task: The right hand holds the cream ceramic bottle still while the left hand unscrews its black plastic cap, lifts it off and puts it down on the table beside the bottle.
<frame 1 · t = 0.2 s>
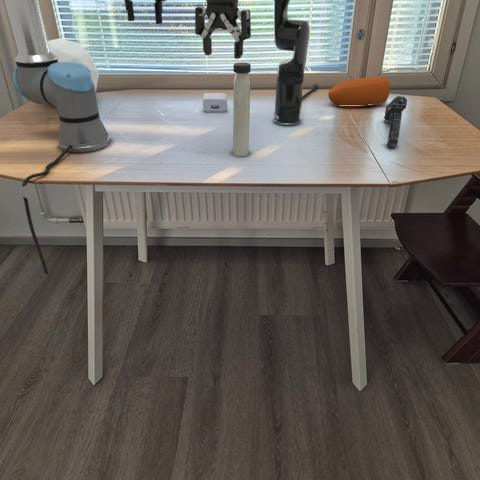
left hand: (145, 22, 153), 29 cm above the table, tool pointing down, fingers open, 13 cm apart
right hand: (222, 56, 100), 29 cm above the table, tool pointing down, fingers open, 8 cm apart
charger: (215, 106, 164), on the table
decorative sphere: (72, 104, 164), on the table
cap: (242, 65, 110), point 25 cm above the table, screwed on, not yet turned
futuristic handgun: (389, 134, 140), on the table
bottle: (240, 153, 125), on the table
clog: (356, 105, 168), on the table
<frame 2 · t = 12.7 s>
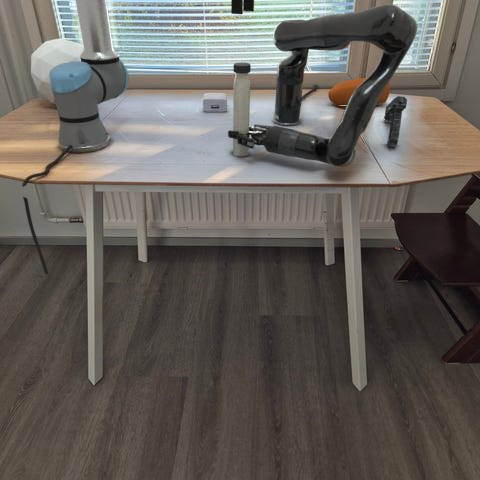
left hand: (242, 12, 103), 38 cm above the table, tool pointing down, fingers open, 7 cm apart
right hand: (233, 130, 122), 7 cm above the table, tool horizontal, fingers closed on bottle, 4 cm apart
bottle: (240, 153, 125), on the table, touching right hand
everything else where it was.
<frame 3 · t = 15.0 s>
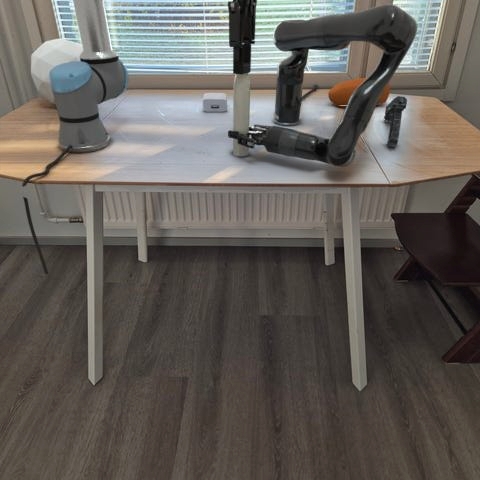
left hand: (242, 71, 111), 24 cm above the table, tool pointing down, fingers closed on cap, 4 cm apart
right hand: (233, 130, 122), 7 cm above the table, tool horizontal, fingers closed on bottle, 4 cm apart
cap: (242, 65, 110), point 25 cm above the table, screwed on, not yet turned, touching left hand
bottle: (240, 153, 125), on the table, touching right hand
everything else where it was.
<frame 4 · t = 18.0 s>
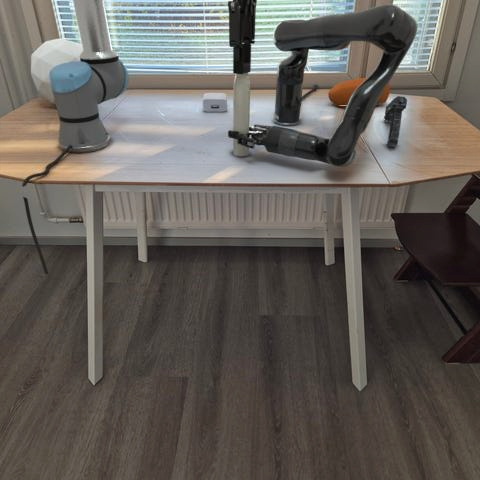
left hand: (242, 71, 111), 24 cm above the table, tool pointing down, fingers closed on cap, 4 cm apart
right hand: (233, 130, 122), 7 cm above the table, tool horizontal, fingers closed on bottle, 4 cm apart
cap: (242, 65, 110), point 25 cm above the table, turned 89° so far, risen 0.1 cm, still on its thread, touching left hand
bottle: (240, 153, 125), on the table, touching right hand
everything else where it was.
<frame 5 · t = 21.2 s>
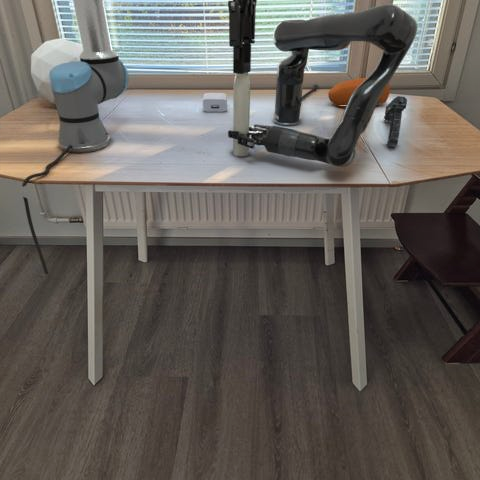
left hand: (242, 71, 111), 24 cm above the table, tool pointing down, fingers closed on cap, 4 cm apart
right hand: (233, 130, 122), 7 cm above the table, tool horizontal, fingers closed on bottle, 4 cm apart
cap: (242, 64, 110), point 26 cm above the table, turned 178° so far, risen 0.1 cm, still on its thread, touching left hand
bottle: (240, 153, 125), on the table, touching right hand
everything else where it was.
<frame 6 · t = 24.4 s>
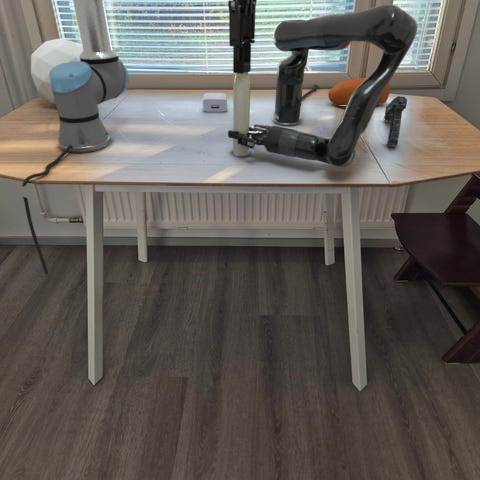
left hand: (242, 70, 111), 24 cm above the table, tool pointing down, fingers closed on cap, 4 cm apart
right hand: (233, 130, 122), 7 cm above the table, tool horizontal, fingers closed on bottle, 4 cm apart
cap: (242, 64, 110), point 26 cm above the table, turned 267° so far, risen 0.2 cm, still on its thread, touching left hand
bottle: (240, 153, 125), on the table, touching right hand
everything else where it was.
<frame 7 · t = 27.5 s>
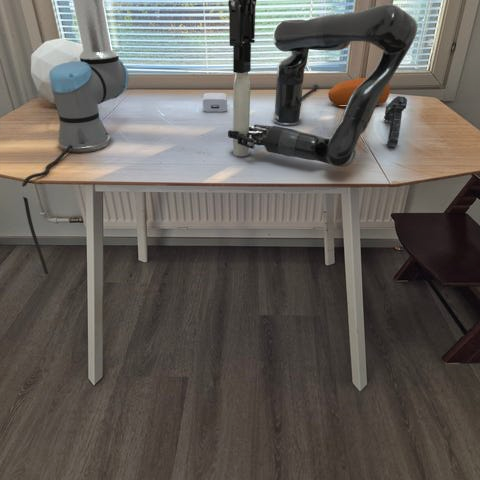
left hand: (242, 70, 111), 24 cm above the table, tool pointing down, fingers closed on cap, 4 cm apart
right hand: (233, 130, 122), 7 cm above the table, tool horizontal, fingers closed on bottle, 4 cm apart
cap: (242, 64, 110), point 26 cm above the table, turned 356° so far, risen 0.3 cm, still on its thread, touching left hand
bottle: (240, 153, 125), on the table, touching right hand
everything else where it was.
when the left hand's fingers open (1 cm above the table, at t = 35.2 s): cap drops 1 cm, point 2 cm above the table.
when the right hand's fingers open (7 cm above the table, at t = 36.4 s): bottle stays where it is, on the table.
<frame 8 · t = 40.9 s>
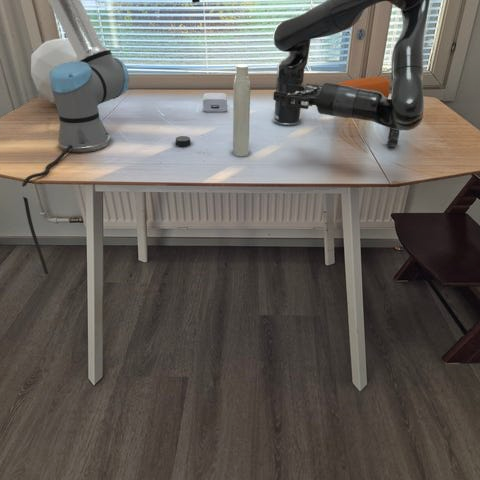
left hand: (173, 1, 108), 40 cm above the table, tool pointing down, fingers open, 13 cm apart
right hand: (280, 91, 109), 20 cm above the table, tool horizontal, fingers open, 8 cm apart
cap: (182, 139, 129), point 2 cm above the table, off its thread
bottle: (240, 153, 125), on the table
everything else where it was.
at the end: cap came off its thread; cap point 1.6 cm above the table; the left hand is holding nothing; the right hand is holding nothing; bottle tilted 0°; bottle moved 0.0 cm from its start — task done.
